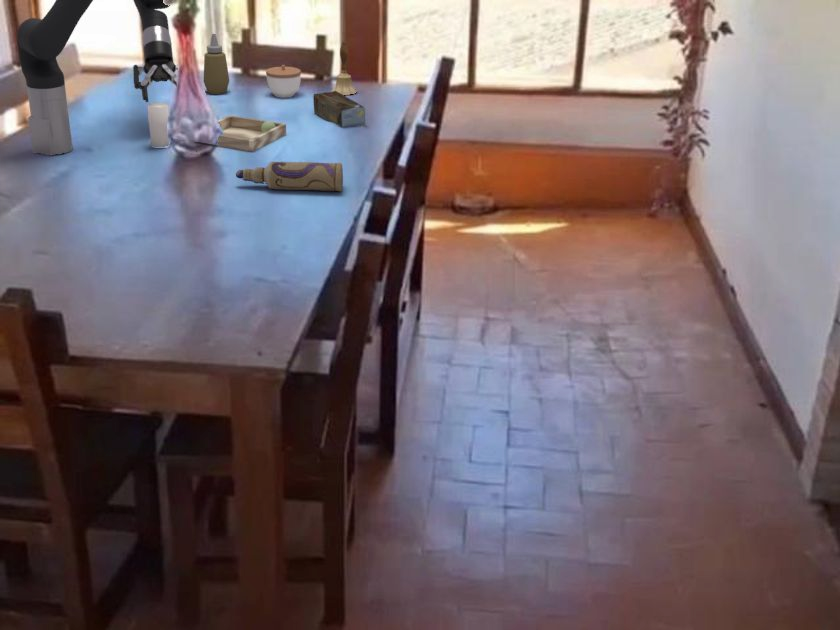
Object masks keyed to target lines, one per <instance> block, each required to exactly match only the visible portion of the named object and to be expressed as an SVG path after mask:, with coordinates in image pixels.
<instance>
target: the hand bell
mask: <svg viewBox="0 0 840 630" xmlns="http://www.w3.org/2000/svg"><path fill="white" fill-rule="evenodd" d="M339 56H340V60H341V61H340V62H341V70H340V71H341V72H340V73H339V74H337V76H336V81H335V82H336V83H335V84H334V87H333V88H332V90H331V91H330V92H333V91H337V92H339V93H341V94H342V95H346V96H351V95H350V94H354V93H356V92H357V93H358V90H357V89H356V88H355V87H354V84H353V81H352V76H351V75H350V74H349V73H348V70H347V65H348V64H347V63H348V59H349V58H348V57H349V49H348V44H347V41H341V45H340V48H339ZM357 93H356V94H357ZM354 95H355V94H354Z"/></svg>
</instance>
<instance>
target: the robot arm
mask: <svg viewBox="0 0 840 630" xmlns="http://www.w3.org/2000/svg"><path fill="white" fill-rule="evenodd" d="M93 1H94V0H55V1H54V3H53V4H52V7H51V8H50V9H49V10H48V11H47V13H46V14H45V15H44V16H43V18H42V19H41V18H37V17H35V18H34V17H31V18H28V19H25V20H24V21H22V22H21V24H20V25H19V26H18V28H17V31H16V44H17V45H16V46H17V50H18V51H17V52H18V57H19V61H20V62H19V63H20V68H21V71H22V74H23V76H24V79H25V83H26V89H27V90H26V91H27V96H28V97H27V98H28V104H29V111H30V115H29V117H28V119H27V120H28V125H29V126H28V127H29V132H30V141H31V148H32V152H36V153H35V154H38V153H42V154H41V155H43V154H47V155H46V156H49V155H53V156H56V155H55V154H58V155H63V154H62V153H64V154H66V153H67V154H68V153H70V152H71V151H72V150H73V148H74V147H73V140H72V139H73V138H72V132H71V130H72V129H71V122H70V117H69V116H70V114H69V107H68V106H69V105H68V100H67V92H66V91H67V90H66V89H67V88H66V82H65V75H64V72H63V71H62V69H61V67H60V65H59V64H58V61H57V58H58V56H59V55H60V54H61V53H62V52H63V50H64V49H65V47H66V45H67V44H68V42H69V40H70V38H71V36H72V34H73V32H74V30H75V29H76V27H77V25H78V24H79V21H80V20H81V18H82V16H83V15H84V14H85V13H86V11H87V10H88V8H89V7H90V5H91V4H92V2H93ZM132 1H133V3H134V6H135V7H136V8H135V9H136V10H137V12H138V13H139V17H140V21H141V26H142V48H143V57H144V65H143V66H139V65H137V64H133V67H132V68H133V71H132V72H133V85H134V86H133V87H134V89H136V90H137V89H139V90H141V97H142V100H143V101H145V103H149V94H148V88H149V86H151V85H152V83H153V82H154V83H159V82H168V81H169V82H170V83H172V84H173V85H174V86H176V87H177V79H178V78H179V77H178V75H176V73H175V72H176V70H177V71H178V65H179V64H175V62H174V55H173V54H174V53H173V47H172V38H171V34H170V29H169V28H170V27H169V20H168V16H167V14H166V13H165V12H163V11H161V10H162V9H163V10H164V9H168V8H169V7H170V6H171V5H169V6H168V5H165V4H164V3H163V0H132ZM143 72H144V73H145V74H146V75H145V76H144V78H143V79H142V81H140V76H141V75H142V74H143ZM69 151H70V152H69Z"/></svg>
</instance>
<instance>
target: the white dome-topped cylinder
mask: <svg viewBox="0 0 840 630" xmlns="http://www.w3.org/2000/svg"><path fill="white" fill-rule="evenodd" d="M147 116H148V127H149V128H148V130H149V137H150V138H149V139H150V140H149V141H150V147H151V146H153V147H165V146H168V145H169V141H168V137H167V119H168V116H170V105H169V103H167V102H151V103H148V104H147ZM169 146H170V145H169Z"/></svg>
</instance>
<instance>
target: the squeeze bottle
mask: <svg viewBox="0 0 840 630" xmlns="http://www.w3.org/2000/svg"><path fill="white" fill-rule="evenodd" d="M206 51H207V52H206V53H204V59H203V84H204V86H205V89H206V91H207V93H208V94H212V95H223V94H225V93H227V92H228V87H229V84H230V77H229V70H228V64H227V56H226V53H225V52H223V46H222V45H221V44H219V41H218V38H217V35H216V33H211V37H210V44H208V45H207V46H206Z"/></svg>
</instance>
